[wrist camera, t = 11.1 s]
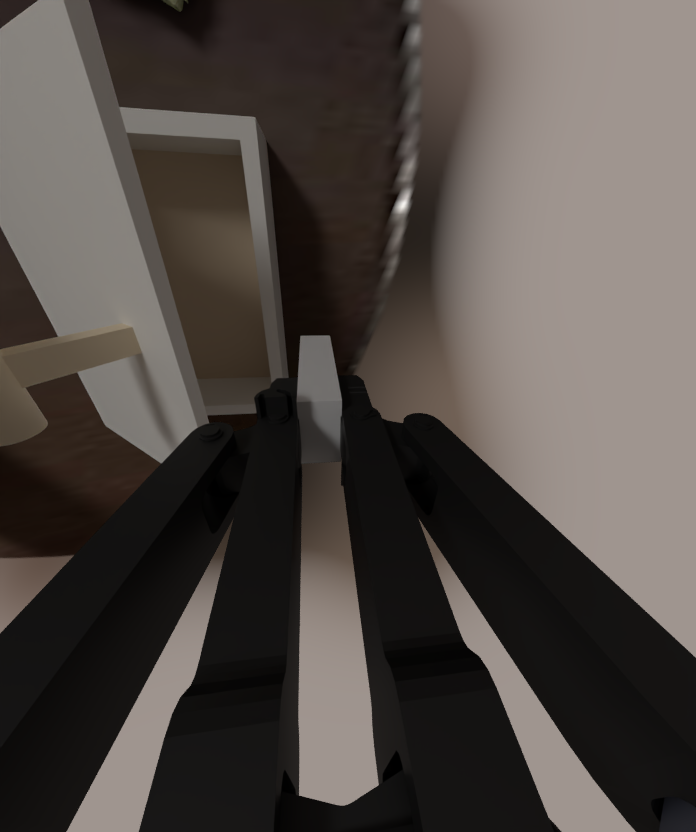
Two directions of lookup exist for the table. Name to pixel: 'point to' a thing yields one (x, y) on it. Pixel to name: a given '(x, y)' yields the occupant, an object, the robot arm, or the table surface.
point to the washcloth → (175, 4)
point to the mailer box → (215, 246)
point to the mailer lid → (85, 240)
